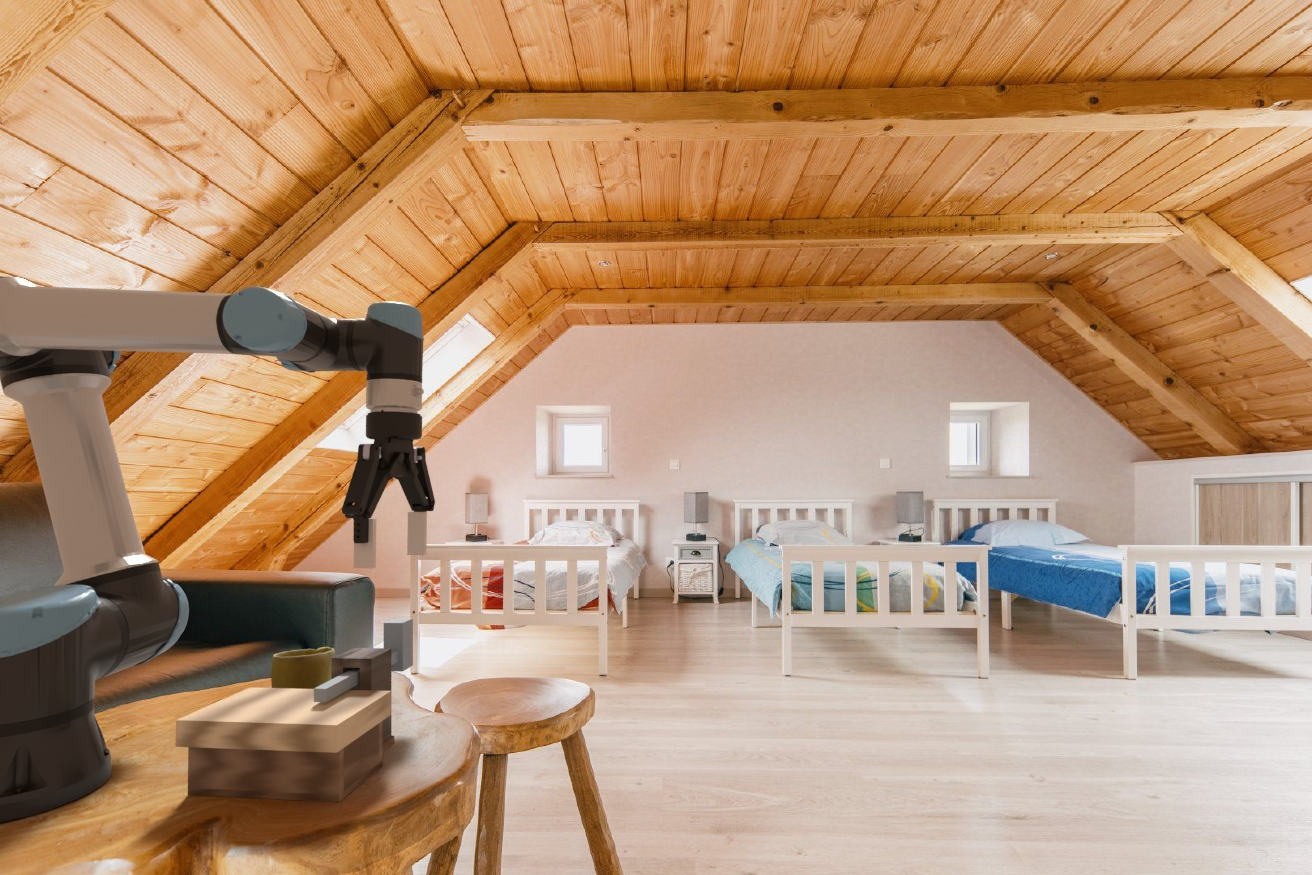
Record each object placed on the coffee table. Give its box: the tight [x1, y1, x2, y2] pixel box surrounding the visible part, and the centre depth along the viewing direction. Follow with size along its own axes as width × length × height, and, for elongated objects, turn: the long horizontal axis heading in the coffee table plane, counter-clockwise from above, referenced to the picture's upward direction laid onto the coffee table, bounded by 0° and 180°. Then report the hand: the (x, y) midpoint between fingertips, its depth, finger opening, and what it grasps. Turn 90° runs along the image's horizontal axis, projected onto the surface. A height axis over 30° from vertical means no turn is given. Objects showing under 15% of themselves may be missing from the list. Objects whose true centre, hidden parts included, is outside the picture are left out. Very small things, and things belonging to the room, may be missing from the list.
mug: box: [270, 646, 336, 689], centre depth 110 cm, size 12×10×10 cm
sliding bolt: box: [314, 617, 414, 702], centre depth 90 cm, size 3×20×7 cm, turn 172°
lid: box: [175, 686, 392, 753], centre depth 81 cm, size 20×12×4 cm, turn 83°
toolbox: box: [187, 647, 395, 803], centre depth 84 cm, size 19×16×13 cm
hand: (392, 561), depth 94 cm, fingers open, 13 cm apart
